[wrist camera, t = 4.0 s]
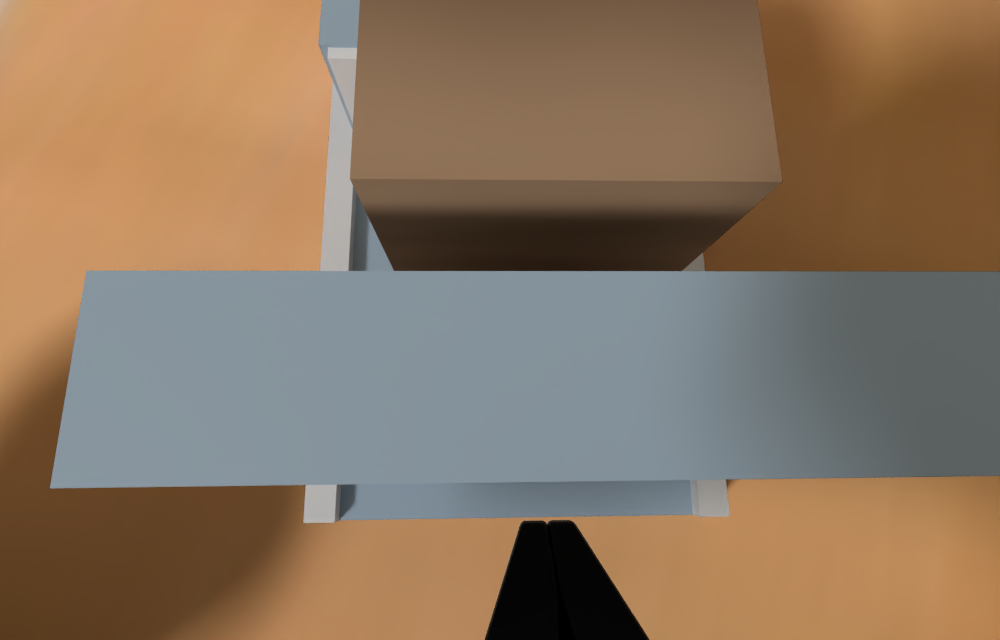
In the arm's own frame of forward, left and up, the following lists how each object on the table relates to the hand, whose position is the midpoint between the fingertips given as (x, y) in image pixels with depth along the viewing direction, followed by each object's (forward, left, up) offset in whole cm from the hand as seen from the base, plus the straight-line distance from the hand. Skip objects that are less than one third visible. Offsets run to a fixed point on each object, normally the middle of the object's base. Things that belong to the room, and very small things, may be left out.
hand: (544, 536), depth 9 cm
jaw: (+2, -1, -6) cm, 6 cm away
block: (+5, -4, -6) cm, 9 cm away
